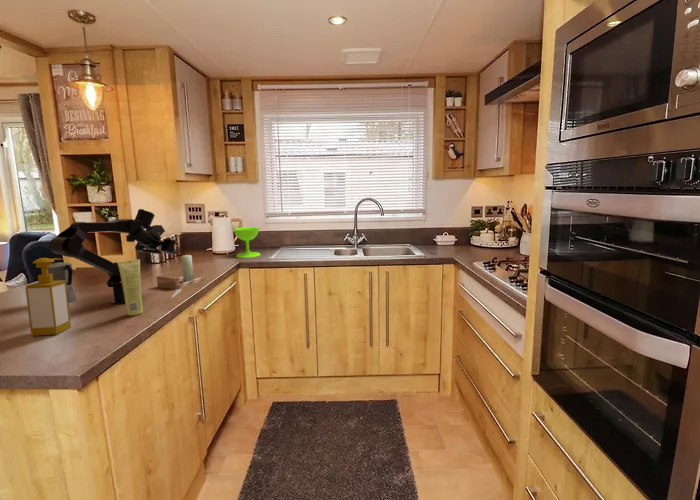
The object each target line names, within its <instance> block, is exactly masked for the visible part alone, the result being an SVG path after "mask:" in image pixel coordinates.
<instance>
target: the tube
mask: <svg viewBox="0 0 700 500" xmlns="http://www.w3.org/2000/svg"><path fill="white" fill-rule="evenodd" d="M117 263H118V267H119V271H120V275H121V280H122V282H121V283H122V285H123V291H124V297H125V303H124V304H125V308H126V309H125V310H126V315H127V316H137V315H141V314H142V313H143V311H144V310H143V299H142V285H141V284H142V283H141V282H142V281H141V258H138V259H131V260H126V261H117Z"/></svg>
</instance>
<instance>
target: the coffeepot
mask: <svg viewBox="0 0 700 500" xmlns="http://www.w3.org/2000/svg"><path fill="white" fill-rule="evenodd" d="M73 272H74V270H73V267H72V263H71V262H60V260H54V263H53V262H52V266H51V267H48V274H52V275H53V281H60V280H66V281H65V282H66V286H67V295H68V304H69V303H72V302H75V301H77V295H76V293H75V290H74V288H73V285H72V284H73V283H72V281H73Z"/></svg>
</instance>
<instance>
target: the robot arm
mask: <svg viewBox="0 0 700 500" xmlns="http://www.w3.org/2000/svg"><path fill="white" fill-rule="evenodd" d="M155 216H156V215H155V214H154V213H153V212H151V211H148V210H145V209H144V208H139V209H138V210H137V214H136V215H135V217H134V218H133V219H132V218H118V219H113V220H111V221H110V220H109V221H99V222H98V221H93V222H89V221H88V222H86V221H75V222H73V223H71V224H70V225H69V227H68V228H66V229H64V230H63V231H61V232H59V234H58V235H56V236H55V237H54V238H51V240H50V241H49V243H48V245H49V246H48V247H49V251H50V252H51V253H53V254H56V255H59V256H63V257H68V258H74V259H76V260H79V261H81V262H83V263H85V264H87V265H89V266H91V267H94V268H96V269H98V270H100V271H102V272H104V273H106V274H107V275H108V276H109V278H108V280H107V281H106V285H107V287H108V288H112V290H113V298H114V299H113V301H111V302H110V304H112V305H113V304H126V303H125V297H124V291H123V285H122V280H121V275H120V271H119V267H118V262H112V261H110V260H109V259H106V258H105V257H103V256H100V255H98V254H96V253H94V252H92V251H91V250H89V249H86V247H85V245H84V244H83V243H84V242H85V239H86V236H87V234H88V233H102V232H104V233H105V232H111V233H115V234H116V233H119V234H127V235H126V236H125V237H126V239H125V240H126V242H128V243H129V242H130V243H134V242H136V244H135V247H134V248H135V250H136V251H137V252H139V253H148V254H157V255H160V254H161V252H162V253H165V254H167V255H168V254H169V255H175V256H176V255H177V254H178V252H177V250H176V248H175V247H176V243H177V241H176V239H174V238H173V237H172V238H170V237H167V238H164V239H163V240H162V237H161V236H162V235H163V234H164V233H165V232H166V230H165V228H164V227H163V225H162V224H155V225H152V223H153V220H154V218H155ZM158 247H159V248H160V249H158Z"/></svg>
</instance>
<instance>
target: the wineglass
mask: <svg viewBox="0 0 700 500" xmlns="http://www.w3.org/2000/svg"><path fill="white" fill-rule="evenodd" d="M259 229H260V228H259V227H251V226H250V227H248V226H247V227H237V228H234V229H233V232H234V235H235V237H237V238H238V239H240V240H241V241H243V242H245V246H246V247H245V252H239V253H237V254H236V255H235V258H238V259H242V258H243V259H245V258H246V259H248V258H256V257H260V256H261V253H260V252H258V251H256V252H255V251H250V241H253V240H254V239H256V237H257V236H258V234H259Z"/></svg>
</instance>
